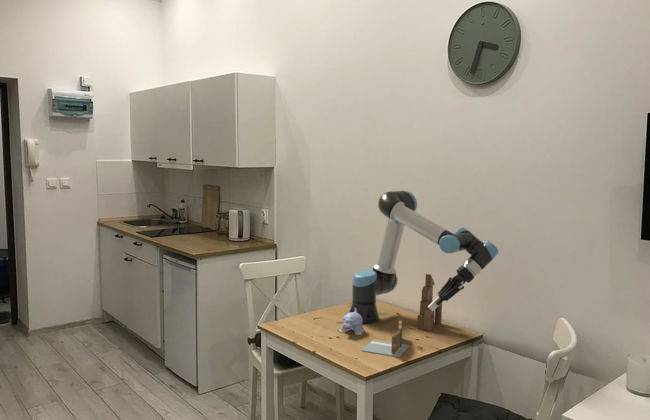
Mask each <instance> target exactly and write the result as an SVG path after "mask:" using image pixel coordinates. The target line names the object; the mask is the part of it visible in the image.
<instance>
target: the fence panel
mask: <svg viewBox="0 0 650 420" xmlns="http://www.w3.org/2000/svg"><path fill="white" fill-rule="evenodd" d="M402 322H403V320H400V319H399V320H398V330H402Z"/></svg>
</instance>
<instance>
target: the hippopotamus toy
mask: <svg viewBox="0 0 650 420" xmlns="http://www.w3.org/2000/svg"><path fill="white" fill-rule="evenodd" d="M362 321H363V319H362V317H361V315H360V314H358V313H357V309H356V308H355V311H354V312H350V313H349V312H348V313H346V314H345V315H344V316H343V318H342V325H341V327H340V329H339V331H338V332H339V333H346V332H349V331H351V330H352V329H353V331H354V334H355V335H357V336H358V335H359V336H360V335H361V336H362V335H363V333H364V332H365V328H364V326H363V323H362Z"/></svg>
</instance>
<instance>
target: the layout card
mask: <svg viewBox="0 0 650 420" xmlns="http://www.w3.org/2000/svg"><path fill="white" fill-rule="evenodd" d="M409 346H410V345H409V344H404V343H402V344H401V347H400V348H399V349H398V350H397V351H396V353H395V354H392V353H391V350H392V341H386V340H380V339H375V338H374V339H372V340H370V342H368V343H367V344H366V345H365V346H364V347H363V348H362V349H361V352H366V353H371V354H378V355H383V356H389V357H394V358H400V357H401V356H402V355H403V354H404V352H406V350H407V349H408V348H409ZM407 347H408V348H407ZM402 353H403V354H402Z"/></svg>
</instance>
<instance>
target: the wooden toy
mask: <svg viewBox="0 0 650 420" xmlns="http://www.w3.org/2000/svg"><path fill="white" fill-rule="evenodd" d="M435 285H436V283H435V281H434V279H433V276H432V274H429V273H426V274H425V283H424V286H422V289H421V300H420V302H419V314H418V315H417V322H416V323H417V325H416V329H417V330H422V331H427V332H432V330H433V325H434V324H435V325H441V324H442V316H443V302H442V303H441V304H440V305H439V306H438V307H437V308H436V309H435V310H434V311H432V310H431V309H430V308H429V307H428V306H429V305H430V304H431V303H432V302H433V301H434V300H433V299H434V298H433V294H434V292H433V291H434V286H435ZM437 297H438V296H436V297H435V299H436V298H437Z"/></svg>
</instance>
